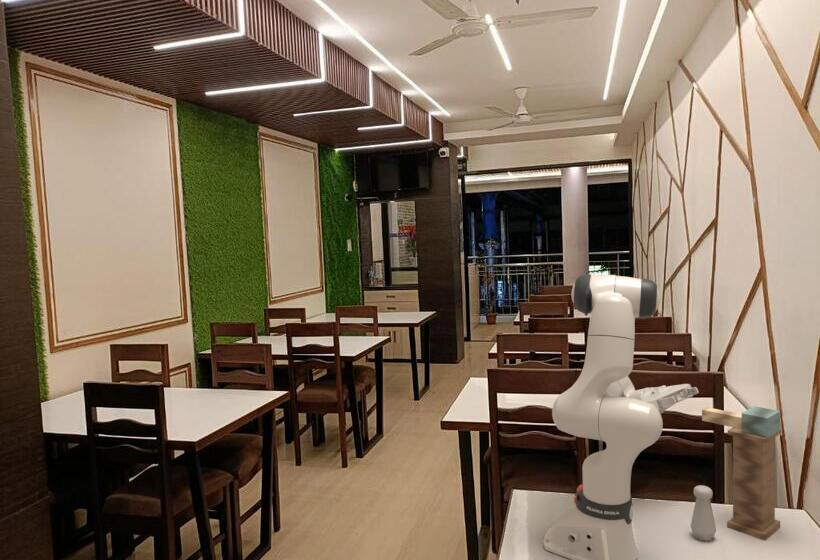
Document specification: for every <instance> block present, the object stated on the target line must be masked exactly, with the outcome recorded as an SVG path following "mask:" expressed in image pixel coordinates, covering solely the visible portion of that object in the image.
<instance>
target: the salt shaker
mask: <svg viewBox="0 0 820 560" xmlns="http://www.w3.org/2000/svg"><path fill="white" fill-rule="evenodd" d="M713 494H714V493H713V490H712V489H711V488H710V487H709V486H706V485H700V484H699V485H696V486H695V487H694V488H693V495H694V497H695V503H694V508H693V512H692V517H691V520H690V521H691V522H690V530H691V531H692V534H693V536H694V538H695V539H697V540H699V541H702V542H710V541H712V540H713V538H714V537H715V534H716V532H717V527H716V522H715V516H714V512H713V506H712V501H711V499H712V498H713Z"/></svg>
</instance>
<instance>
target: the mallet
mask: <svg viewBox="0 0 820 560" xmlns="http://www.w3.org/2000/svg"><path fill="white" fill-rule="evenodd" d="M701 421H703V422H706V423H710V424H711V423H713V424H716V425H721V426H725V427H731V428H733V427H734V428H739V429H742V433H747V434H751V435H756V436H760V437H765V438H769V437H770V436H772V435H773V434H775V433H776V432H778V431H779V430H780V429H781V426H780V425H781V411H780V410H777V409H776V410H775V409H771V408H766V407H765V408H764V407H759V406H752V407H751V408H748V409H747V410H745V411H743V412H741V413H737V412H733V411H727V410H722V409H719V408H713V407H708V406H707V407H704V408H703V409H702V410H701Z"/></svg>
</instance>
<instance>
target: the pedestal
mask: <svg viewBox="0 0 820 560" xmlns="http://www.w3.org/2000/svg"><path fill="white" fill-rule="evenodd" d="M726 434H727V435H729V436H732V441H733V442H732V451H733V452H732V490H733V491H732V518H730V519H729V520H728V521H727V524H726V525H727V528H728V529H731V530H733V531H736V532H738V533H742V534H744V535H745V534H746V535H748V536H751V537H754V538H756V539H759V540H763V541H765V542H766V541H767V540H768V539H769V538H770V537H771V536H772V535H773V534H774V533H776V532H777V531H778V530H779V529H780V527H781V521H780V520H778V519H776V508H775V507H776V499H775V498H776V437H778V436H779V435H781V434H782V429H781V428H780V430H779V431H778V432H776V433H775V434H773V435H772V436H770V437H769V438H765V437H760V436H756V435H751V434H747V433H742V429H739V428H734V427H731V428H729V429H727V432H726Z"/></svg>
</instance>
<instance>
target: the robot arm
mask: <svg viewBox="0 0 820 560" xmlns="http://www.w3.org/2000/svg"><path fill="white" fill-rule="evenodd" d="M571 288H572V289H571V292H570V293H571V301H572V303H573V307H574V308H575V309H576V310H577V311H578V312H580V313H582V314H584V315H585V316H588V315H589V314H590V318H589V325H588V331H587V341H586V350H585V358H584V364H583V367H582V371H581V372H580V375H579V377H577V380H576V381H575V382H574V383H573V385H572V386H571V387H569V388H567V390H565V391H563V392H562V393H560V395H558V396H557V397H556V399H555V400H554V402H553V405H552V409H551V416H552V420H553V423H554V424H555V426H556V427H557V429H558V430H559V431H561V432H563V433H566V434H569V435H572V436H574V437H578V438H585V439H592V440H596V441H602V442H605V445H606V448H605V449H603V450H600V451H597V452H594V453H592V454H590V455H588V456H587V457H586V458H585V459H584V461H583V464H582V484H579V485H578V486H577V488H576V492H575V494H574V497H573V504H571V505H569V506H567V507H566V508H564V509H562V510H561V511H560V512H559V513H558V514H557V516H556V517H555V519H554V521H553V525H552V526H551V527H550V528H548V530H547V531H546V533H545V534H544V536H543V540H542V541H543V542H542V545H543V549H544V550H545V551H548V552H551V553H553V554H555V555H557V556H558V555H559V556H561V557H563V558H567V559H569V560H637V559H638V557H639V550H638V548H637V545H636V541H635V537H634V530H633V523H632V522H633V519H634V518H633V517H634V503H633V497H632V495H631V479H632V478H631V477H632V469H633V465H634V463H635V460H636V459H637V458H638V456H639V455H640V453H641V452H642V451H644V450H645V449H647V448H648V447H650V446H652V445H653V444H655V443H656V442H657V441H658V440H659V438H660V437H661V434H662V432H663V427H664V426H663V425H664V423H663V417H662V414H663V413H664V412H665V411H666V410H667V409H669V408H671V407H672V406H674V405H675V404H678V403H680V402H682V401H684V400H687V399H689V398H692V397H694V396H695V395H697V394H699V390H698V388H697V387H695V386H694V387H692V386H691V384H690V383H682V384H676V385H675V384H674V385H670V386H669V385H667V386H666V384H665V385H664V384H663V385H659V386H656V387H645V388H641V389H636V387H635V385H634V384H633V382H632V380H631V378H630V376H629V375H630V374H631V373H632V371H633V368H634V356H635V355H634V352H635V339H636V337H635V336H636V335H635V334H636V330H635V329H636V327H635V326H636V325H635V322H636V318H639V319H647V318H651V317H653V316H654V315H655V314H656V312H657V310H659V309H658V308H659V307H660V304H661V293H660V290H659V288H658V284H657V283H656V282H655V281H654V280H652V279H648V278H644V277H641V278H636V277H630V276H625V275H623V276H621V275H616V274H596V275H591V274H584V275H583V274H582V275H580V276H578V277H577V278H576V279H575V281H574V283H573V286H572V287H571Z"/></svg>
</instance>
